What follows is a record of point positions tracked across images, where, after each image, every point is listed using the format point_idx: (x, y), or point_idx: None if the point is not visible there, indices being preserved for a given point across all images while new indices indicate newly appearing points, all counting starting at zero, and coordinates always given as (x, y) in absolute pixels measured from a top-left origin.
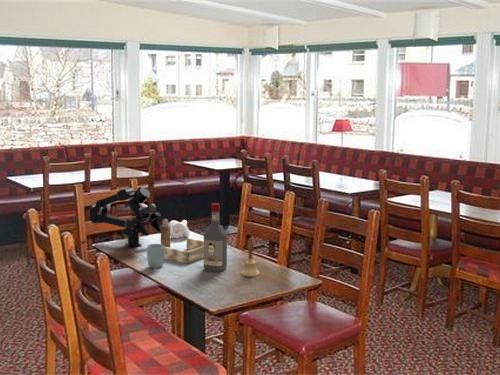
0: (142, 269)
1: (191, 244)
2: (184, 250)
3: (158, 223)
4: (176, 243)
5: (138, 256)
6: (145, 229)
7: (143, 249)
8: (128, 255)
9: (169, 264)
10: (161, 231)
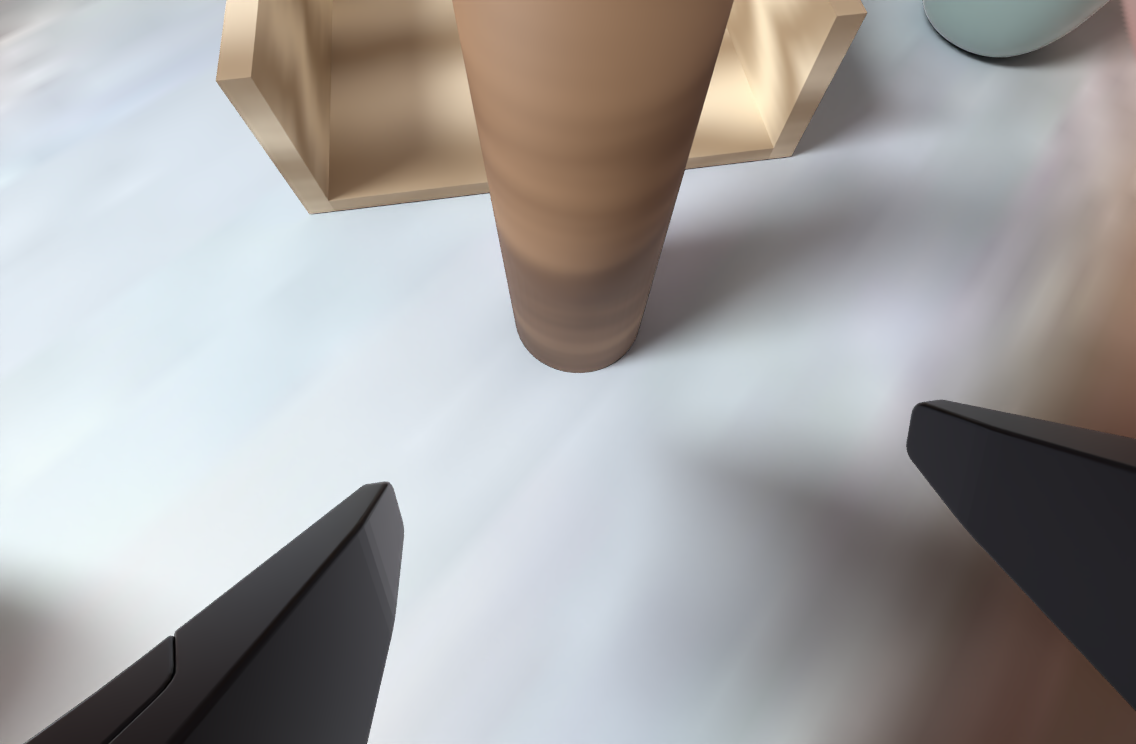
0: (1121, 54)
1: (297, 80)
2: (399, 175)
3: (116, 703)
4: (103, 557)
5: None
6: (1132, 466)
7: (736, 674)
8: None
9: None
10: (723, 34)
